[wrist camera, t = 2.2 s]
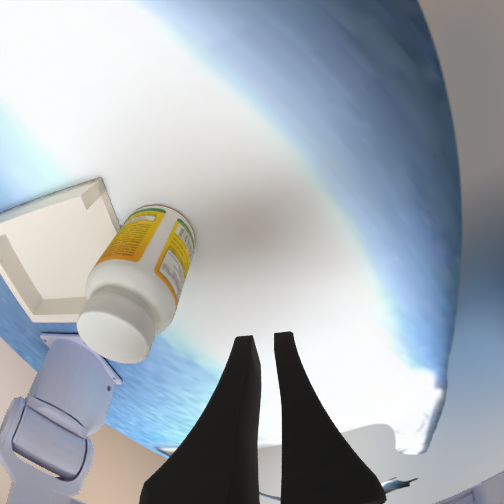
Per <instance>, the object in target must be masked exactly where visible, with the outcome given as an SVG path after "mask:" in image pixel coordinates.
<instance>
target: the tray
mask: <svg viewBox="0 0 504 504" xmlns="http://www.w3.org/2000/svg"><path fill="white" fill-rule="evenodd" d="M120 228H121V227H120V225H119V222H118V220H117V217H116V215H115V212H114V210H113V207H112V205H111V202H110V199H109V197H108V194H107V191H106V189H105V186H104V183H103V181H102V178H98V179H95V180H91V181H88V182H85V183H82V184H79V185H75V186H72V187H69V188H66V189H63V190H60V191H57V192H55V193H52V194H49V195H46V196H43V197H41V198H38V199H35V200H32V201H30V202H27V203H25V204H22V205H19V206H17V207H14V208H12V209H9V210H7V211H5V212H2V213H0V274H1V275H2V277H3V278H4V280H5V282H6V283H7V285H8V286H9V288H10V290H11V291H12V293H13V294H14V296H15V297H16V299H17V300H18V302H19V303H20V305H21V306H22V308H23V309H24V310H25V312H26V313H27V315H28V316H29V317H30V319H31V320H32V321H33V322H77V319H78V317H79V315H80V313H81V311H82V309H83V307H84V304H85V303H86V301H87V297H86V282H87V278H88V276H89V274H90V272H91V270H92V269H93V267H94V266H95V264H96V263H97V261H98V260H99V258H100V257H101V255H102V254H103V253H104V251H105V250H106V248H107V247H108V245H109V244H110V243H111V241H112V240H113V238H114V237H115V235H116V234H117V233H118V231H119V230H120Z"/></svg>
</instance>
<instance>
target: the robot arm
mask: <svg viewBox="0 0 504 504" xmlns="http://www.w3.org/2000/svg"><path fill="white" fill-rule="evenodd" d="M40 338H41V339H42V340H43V341H44V343H45V344H46V345H47V346H48V348H49V350H48V352H47V354H46V356H45V358H44V360H43V362H42V365H41V367H40V369H39V371H38V373H37V375H36V377H35V380H34V382H33V384H32V386H31V389H30V391H29V393H28V396H27V397H26V398H25V399H24V398H22V397H19V398H14V400H13V401H12V402H11V404H10V406H9V408H8V410H7V413H6V415H5V417H4V420H3V422H2V425H1V428H0V462H1V464H2V466H3V467H4V469H5V470H6V472H7V473H8V475H9V476H10V478H11V480H12V483H11V487H10V491H9V495H8V499H7V503H6V504H86V503H83V502H81V501H78V500H76V499H73V498H71V496H74V495H77V494H78V493H79V491H80V490H81V487H82V484H83V481H84V479H85V477H86V475H87V474H88V472H89V470H90V468H91V465H92V461H93V454H94V452H93V446H92V442H91V440H90V438H89V437H87V435H91V434H94V433H96V432H97V431H98V430H99V429H100V428H101V427H102V425H103V424H104V422H105V420H106V416H107V413H108V409H109V406H110V403H111V399H112V396H113V393H114V390H115V387H116V384H118V385H121V384H122V380H121V379H120V378H119V377H118V375H117V374H116V373H115V372H114V371H113V369H112V368H111V367H110V366H109V365H108V363H107V362H106V361H105V360H104V358H103V357H102V356H101V355H99V354H97V353H96V352H95V351H93V350H92V349H91V348H90V347H88V346H87V345H86V343H85V342H84V341H83V340H82V339H81V337H80V335H79V334H47V333H41V335H40ZM274 353H275V360H276V367H277V374H278V381H279V388H280V395H281V405H282V480H281V483H282V484H281V504H383V503H385V501H386V500H387V499H386V495H385V492H384V489H383V487H382V486H381V484H380V482H379V480H378V479H377V477H376V475H375V474H374V473H373V472H372V471H371V470H370V469H369V468H368V467H367V466H366V465H365V463H364V462H363V461H362V460H361V459H360V458H359V456H358V455H357V454H356V453H355V452H354V450H353V449H352V448H351V447H350V445H349V444H348V443H347V441H346V440H345V439H344V437H343V436H342V435H341V433H340V432H339V431H338V429H337V428H336V426H335V425H334V423H333V422H332V420H331V419H330V417H329V416H328V414H327V412H326V411H325V409H324V407H323V406H322V404H321V402H320V400H319V399H318V397H317V395H316V393H315V391H314V389H313V387H312V385H311V383H310V381H309V379H308V377H307V375H306V372H305V370H304V368H303V365H302V363H301V360H300V357H299V355H298V352H297V349H296V345H295V341H294V336H293V333H292V332H290V331H289V332H280V333H274ZM260 400H261V364H260V361H259V357H258V353H257V349H256V346H255V342H254V338H253V335H250V336H239V337H236V338H235V340H234V344H233V347H232V350H231V353H230V356H229V359H228V361H227V364H226V367H225V369H224V371H223V374H222V376H221V378H220V380H219V383H218V385H217V387H216V389H215V391H214V393H213V395H212V397H211V399H210V401H209V402H208V404H207V406H206V408H205V410H204V411H203V413H202V415H201V416H200V418H199V419H198V421H197V422H196V424H195V426H194V427H193V428H192V430H191V431H190V433H189V434H188V435H187V437H186V438H185V440H184V441H183V442H182V443H181V445H180V446H179V447H178V448H177V449H176V451H175V452H174V453H173V454H172V455H171V456H170V458H169V459H168V460H167V461H166V462H165V463H164V464H163V465H162V466H161V468H159V469H158V470H157V471H156V472H155V473H154V474H153V475H152V476H151V477H150V478H149V479H148V480H147V481H146V482H145V483H144V486H143V489H142V492H141V495H140V502H139V504H260V502H259V485H258V453H257V451H258V450H257V440H258V425H259V413H260ZM13 451H15V452H16V453H18V454H20V455H21V456H23V457H25V458H27V459H28V460H30V461H32V462H34V463H36V464H38V465H39V466H41V467H43V468H45V469H47V470H49V471H51V472H53V473H55V474H58V475H60V477H52V476H50V475H48V474H46V473H44V472H42V471H40V470H38V469H36V468H35V467H33V466H31V465H29V464H27V463H25V462H24V461H22V460H21V459H19V458H18V457H17V456H16V455H15V453H14V452H13ZM434 504H504V470H503V471H502V472H500V473H498V474H496V475H495V476H493V477H491V478H489V479H487V480H485V481H483V482H481V483H479V484H477V485H475V486H473V487H471V488H469V489H467V490H465V491H462V492H460V493H458V494H456V495H454V496H452V497H449V498H447V499H444V500H442V501H439V502H436V503H434Z"/></svg>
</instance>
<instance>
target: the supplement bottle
mask: <svg viewBox="0 0 504 504" xmlns="http://www.w3.org/2000/svg"><path fill="white" fill-rule="evenodd" d="M194 249H195V237H194V233H193V230H192V228H191V226H190V225H189V223H188V222H187V220H186V219H185V218H184V217H183V216H182V215H180V214H179V213H178V212H176V211H174V210H172V209H170V208H167V207H164V206H147V207H143V208H140V209H138V210H136V211H135V212H133V213H132V214H131V215H130V216H129V218H128V219H127V220H126V222H125V223H124V224H123V226H122V227H121V228H120V230H119V231H118V233H117V234H116V235H115V237H114V238H113V240H112V241H111V243H110V244H109V245H108V247H107V248H106V250H105V251H104V253H103V254H102V255H101V257H100V258H99V260H98V261H97V263H96V264H95V266H94V267H93V269H92V270H91V272H90V274H89V276H88V278H87V282H86V297H87V301H86V303H85V304H84V307H83V309H82V311H81V313H80V315H79V317H78V319H77V330H78V333H79V335H80V337H81V339H82V340H83V341H84V342H85V343H86V345H87V346H88V347H90V348H91V349H92V350H93V351H95V352H96V353H97V354H99V355H101V356H103V357H105V358H107V359H109V360H112V361H115V362H119V363H126V364H133V363H138V362H141V361H143V360H144V359H146V358H147V356H148V355H149V352H150V349H151V346H152V343H153V341H154V338H155V335H156V334H159V333H161V332H162V331H164V330H165V329H166V328H167V327H168V326H169V325H170V323H171V322H172V320H173V318H174V315H175V312H176V308H177V305H178V301H179V298H180V295H181V292H182V288H183V285H184V281H185V278H186V275H187V272H188V269H189V265H190V262H191V259H192V256H193V253H194Z"/></svg>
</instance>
